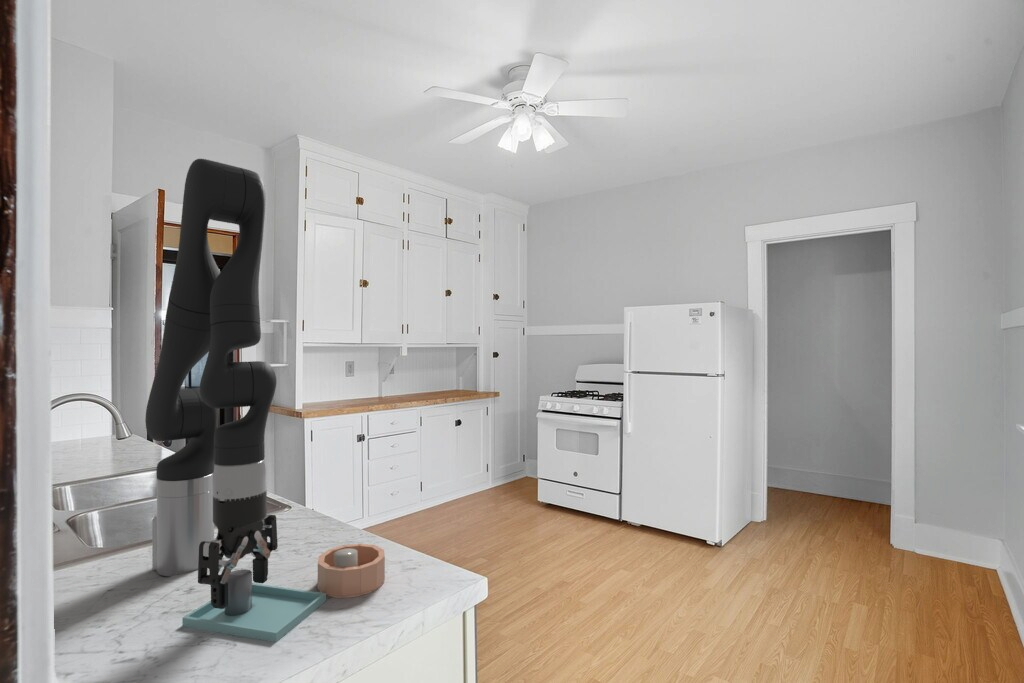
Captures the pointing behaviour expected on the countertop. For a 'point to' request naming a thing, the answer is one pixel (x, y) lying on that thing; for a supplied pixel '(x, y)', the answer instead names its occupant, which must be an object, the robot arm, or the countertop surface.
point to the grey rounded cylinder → (239, 592)
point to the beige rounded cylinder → (346, 558)
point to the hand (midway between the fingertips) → (241, 594)
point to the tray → (260, 613)
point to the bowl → (352, 572)
